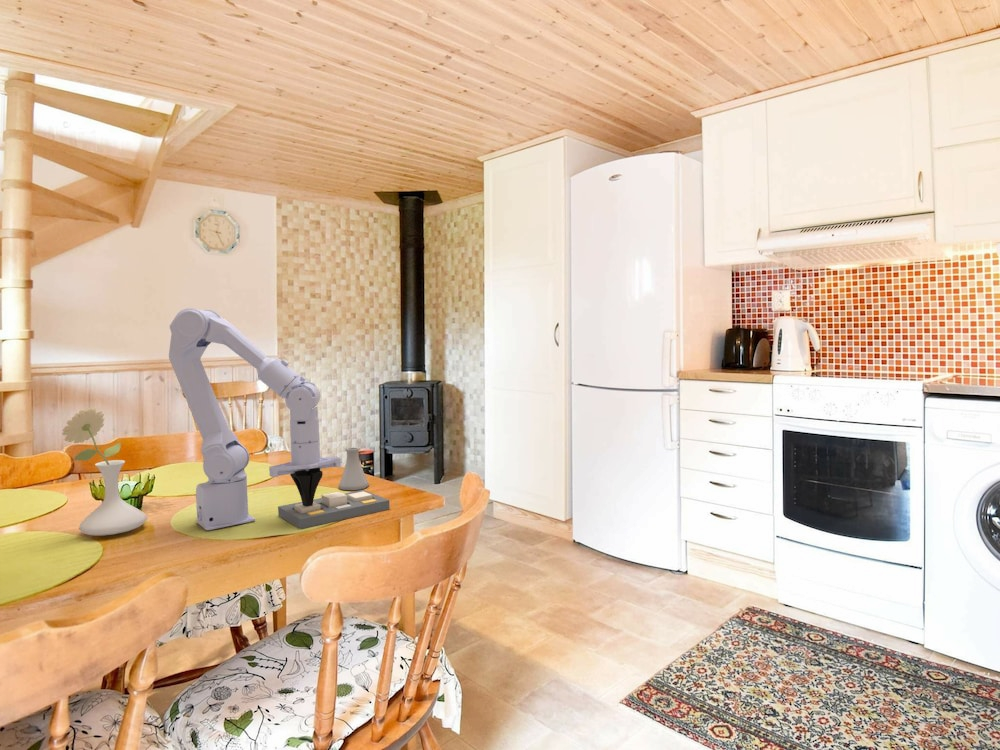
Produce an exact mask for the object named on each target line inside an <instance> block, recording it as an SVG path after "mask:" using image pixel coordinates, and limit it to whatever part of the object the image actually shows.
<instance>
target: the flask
mask: <svg viewBox="0 0 1000 750" xmlns="http://www.w3.org/2000/svg"><path fill="white" fill-rule="evenodd" d="M359 451H360V447H357V446H355V447H354V446H353V447H347V448H345V452H346V463H345V467H344V470H343V472H342V475H341V477H340V482H339V483H338V489H340V490H343V491H360V490H364V489H366V488H368V487H369V486H370V483H369V481H368V479H367V476H366V475H365V472H364V470H363V466H362V464H361V461H360V457H359V456H360V455H359Z"/></svg>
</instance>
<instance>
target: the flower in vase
mask: <svg viewBox="0 0 1000 750" xmlns="http://www.w3.org/2000/svg"><path fill="white" fill-rule="evenodd" d="M104 420H105V418H104V413H103V410H98V411H97V408H95V407H94V408H92V407H89V408H87V409H86V410H85V409H80V410H79V412H76V413H75V414H73V416H72V417H71V419H69V420H67V421H66V424H67V425H65V426H64V427H63V429H62V436H65V437H64V439H63V440H64V441H66V442H68V443H72V442H73V443H74V444H79V443H81V444H82V443H84V442H85V441H88V440H90V439H92V442H93V444H94V447H95V448H94V449H93V448H86V449H83V450H82V451H80V452H79V453H77V455H76V456H74V458H73V461H89V460H91V459H92V458H93V457H94V456H95V455H96V454H97V453H98V454H99V455H100V456H101V458H102V459H103V460H104V461H100V462H96V463H95V464H94V465H95V467H96V468H97V469H98V470H99V471H100V473H101V475H102V476H101V477H102V479H103V483H104V497H103V498H104V499H103V501H102V502H101V504H99V505H98V507H96V508H95V509H94V510H93V511H92V512H90V514H88V515H87V516H86V517H85V518H84V519H82V521H81V522H80V523H79V526H78V530H79V531H80V533H82V534H83V535H89V536H94V537H95V536H97V537H98V536H110V535H117V534H123V533H127V532H130V531H133V530H135V529H137V528H139V527H141V526H142V525H144V524H145V522H146V521H147V519H148V517H147V515H146V513H145V512H143V511H142V510H140V509H138V508H137V507H135V506H134V505H131V504H130V503H127V502H126V501H124V500H123V498H122V497H121V496H120V492H119V478H120V472H121V469H122V467H123V466H124V464H125V463H126V460H123V459H115V460H114V459H113V460H108V459H106V458H108V457H111V456H114V455H116V454H118V453H119V452H120V450H121V444H122V443H121V441H119V442H117V443H116V444H114V445H112V446H110V447H108V448H106V449H105V450H104V451H103V453H102V452H101V451H100V449H99V448H98V445H97V443H96V440H95V438H94V437H96V435H98V432H100V431H101V428H102V427H104V425H105V423H104Z"/></svg>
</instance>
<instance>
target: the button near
mask: <svg viewBox="0 0 1000 750" xmlns="http://www.w3.org/2000/svg"><path fill="white" fill-rule="evenodd" d="M294 508H295V511H297V512H298V513H300V514H302V513H307V512H311V511H316V510H321V505H319V504H317V503H315V502H313V505H312V506H307V507H306V506H304V505H303V504H297V505H294Z"/></svg>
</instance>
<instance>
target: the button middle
mask: <svg viewBox="0 0 1000 750" xmlns="http://www.w3.org/2000/svg"><path fill="white" fill-rule="evenodd" d="M321 498H322V504H323V505H325V506H327V507H329V508H331V507H336V506H340V505H345V504H347V495H345V493H343V492H340V491H335V492H330V493H324V494H321Z"/></svg>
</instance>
